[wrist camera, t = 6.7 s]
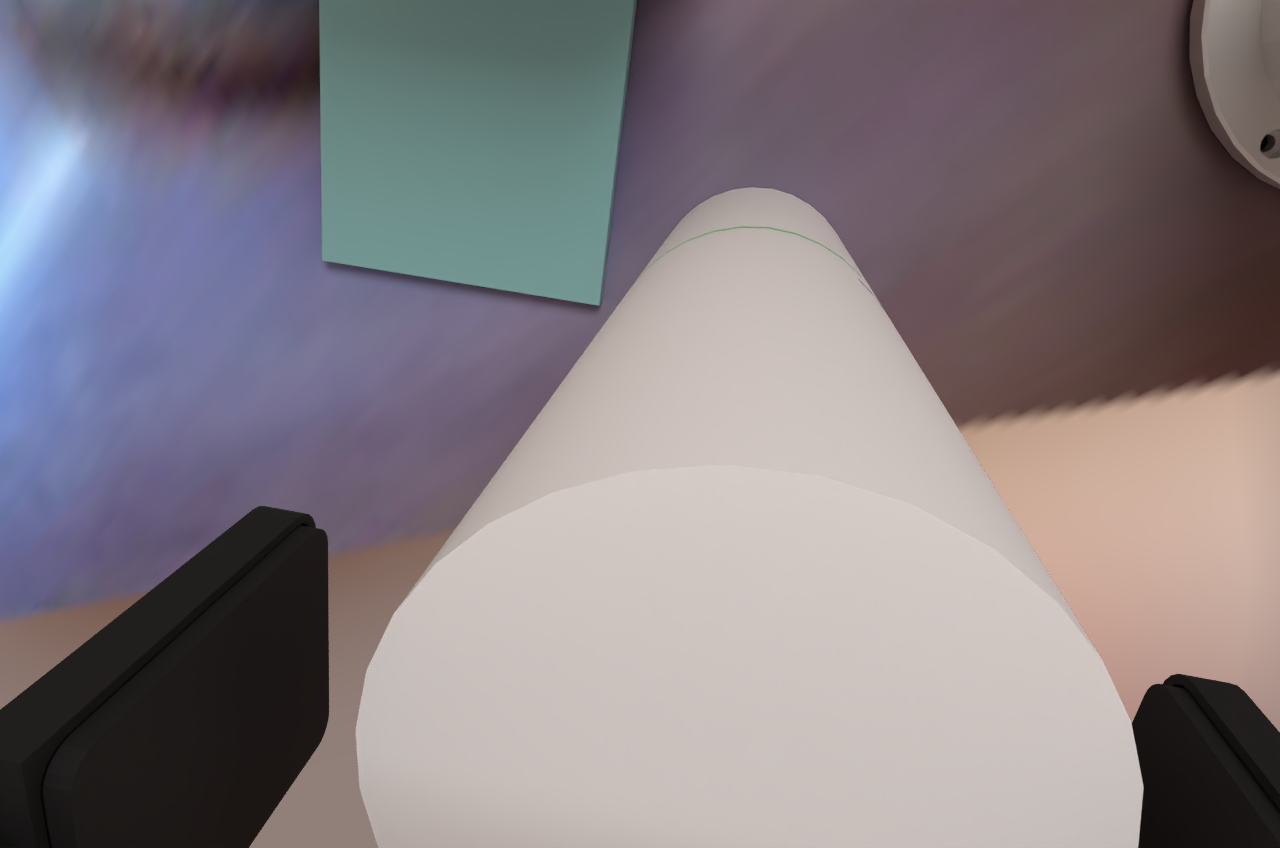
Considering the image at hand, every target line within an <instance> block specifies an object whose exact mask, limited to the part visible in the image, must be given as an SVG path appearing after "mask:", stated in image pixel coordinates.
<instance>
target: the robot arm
mask: <svg viewBox="0 0 1280 848" xmlns="http://www.w3.org/2000/svg"><path fill="white" fill-rule="evenodd" d="M1189 59H1190V65H1191V70H1192V75H1193V80H1194V86H1195V91H1196V96H1197V98H1198V101H1199V103H1200V105H1201V108H1202V110H1203V112H1204V114H1205V117H1206V119H1207V121H1208V124H1209V126H1210V128H1211V130H1212V131H1213V133H1214V134H1215V135H1216V137H1217V138H1218V139H1219V141H1220V142H1221V143H1222V145H1223V146H1224V147H1225V148H1226V150H1227V151H1228V152H1229V154H1230V155H1231V156H1232V158H1234V159H1235V160H1236V161H1237V162H1239V163H1240V164H1241V165H1242V166H1243V167H1245V168H1246V169H1247V170H1248V171H1250V172H1251V173H1252V174H1253V175H1254V176H1256V177H1257V178H1258V179H1259V180H1262V181H1264V182H1266V183H1268V184H1270V185H1272V186H1274V187H1276V188H1278V189H1280V0H1193V5H1192V10H1191V15H1190V47H1189ZM1265 136H1266V138H1267V145H1266V146H1265V147H1264V149H1262V150H1260V145H1261V141H1262V140H1263V138H1264V137H1265ZM328 644H329V642H328V540H327V535H326V532H325V531H324V530H322V529H317V528H316V526H315V522H314V520H313V518H312V517H311V516H310V515H309V514H304V513H299V512H294V511H288V510H283V509H277V508H272V507H266V506H259V507H257V508H255V509H253V510H252V511H251V512H249V513H248V514H247V515H246V516H244V517H243V518H242V519H241V520H239V521H238V522H237V523H236V524H234V525H233V526H232V527H230V528H229V529H228V530H227V531H225V532H224V533H223V534H222V535H220V536H219V537H218V538H217V539H215V540H214V541H213V542H212V543H210V544H209V545H208V546H207V547H205V548H204V549H203V550H201V551H200V552H199V553H198V554H196V555H195V556H194V557H193V558H191V559H190V560H189V561H188V562H186V563H185V564H184V565H183V566H181V567H180V568H179V569H177V570H176V571H175V572H174V573H172V574H171V575H170V576H169V577H167V578H166V579H165V580H164V581H162V582H161V583H160V584H159V585H157V586H156V587H155V588H154V589H152V590H151V591H150V592H148V593H147V594H146V595H145V596H143V597H142V598H141V599H140V600H138V601H137V602H136V603H135V604H133V605H132V606H131V607H130V608H128V609H127V610H126V611H124V612H123V613H122V614H121V615H119V616H118V617H117V618H116V619H114V620H113V621H112V622H111V623H109V624H108V625H107V626H106V627H104V628H103V629H102V630H100V631H99V632H98V633H97V634H95V635H94V636H93V637H92V638H91V639H89V640H88V641H87V642H85V643H84V644H83V645H82V646H80V647H79V648H78V649H77V650H75V651H74V652H73V653H71V654H70V655H69V656H68V657H66V658H65V659H64V660H63V661H61V662H60V663H59V664H58V665H56V666H55V667H54V668H53V669H51V670H50V671H49V672H47V673H46V674H45V675H44V676H42V677H41V678H40V679H39V680H38V681H36V682H35V683H34V684H32V685H31V686H30V687H29V688H27V689H26V690H25V691H23V692H22V693H21V694H20V695H18V696H17V697H16V698H15V699H13V700H12V701H11V702H10V703H8V704H7V705H6V706H5V707H3V708H2V709H1V710H0V848H249V846H250V845H251V843H252V842H253V840H254V839H255V837H256V836H257V835H258V833H259V832H260V830H261V829H262V827H263V826H264V824H265V823H266V821H267V820H268V819H269V817H270V816H271V814H272V813H273V811H274V810H275V808H276V807H277V805H278V804H279V802H280V801H281V800H282V798H283V797H284V795H285V794H286V792H287V791H288V789H289V788H290V786H291V785H292V784H293V782H294V781H295V779H296V778H297V776H298V775H299V773H300V772H301V770H302V769H303V768H304V766H305V765H306V763H307V762H308V760H309V759H310V757H311V756H312V754H313V753H314V751H315V750H316V748H317V747H318V745H319V744H320V742H321V740H322V738H323V735H324V733H325V730H326V726H327V722H328V717H329V654H328V653H329V649H328V646H329V645H328ZM1132 728H1133V734H1134V739H1135V744H1136V750H1137V755H1138V760H1139V765H1140V771H1141V776H1142V781H1143V787H1144V788H1143V799H1142V811H1141V822H1140V833H1139V844H1138V848H1280V732H1279V731H1278V730H1277V729H1276V728H1275V727H1274V725H1273V724H1272V723H1271V722H1270V721H1269V720H1268V718H1267V717H1266V716H1265V715H1264V714H1263V713H1262V711H1261V710H1260V709H1259V708H1258V707H1257V706H1256V704H1255V703H1254V702H1253V701H1252V700H1251V699H1250V697H1249V696H1248V695H1247V694H1246V693H1245V692H1244V691H1243V690H1242V689H1241V688H1240V687H1238V686H1237V685H1233V684H1230V683H1226V682H1220V681H1215V680H1209V679H1203V678H1198V677H1193V676H1187V675H1182V674H1175V675H1171V676H1170V677H1169V678H1168V679H1166V680H1165V681H1164V683H1163V684H1155V685H1152V686H1151V687H1150V688H1149V689H1148V690H1147V692H1146V694H1145V695H1144V698H1143V700H1142V702H1141V705H1140V707H1139V709H1138V711H1137V713H1136V716H1135V718H1134V720H1133V722H1132Z"/></svg>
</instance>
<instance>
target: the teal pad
mask: <svg viewBox="0 0 1280 848" xmlns="http://www.w3.org/2000/svg"><path fill="white" fill-rule="evenodd" d="M636 6H637V0H319V24H320V114H321V205H322V261H329V262H335V263H341V264H347V265H353V266H359V267H365V268H371V269H378V270H384V271H390V272H396V273H402V274H408V275H414V276H420V277H427V278H433V279H439V280H445V281H451V282H457V283H463V284H469V285H476V286H482V287H488V288H494V289H500V290H506V291H512V292H519V293H525V294H531V295H537V296H543V297H549V298H555V299H561V300H568V301H574V302H580V303H586V304H592V305H598V306H599V305H600V304H601V303H602V297H603V289H604V280H605V272H606V263H607V255H608V246H609V237H610V229H611V220H612V212H613V203H614V195H615V186H616V177H617V169H618V160H619V152H620V143H621V135H622V126H623V118H624V109H625V100H626V92H627V83H628V75H629V66H630V58H631V49H632V40H633V32H634V23H635V15H636Z"/></svg>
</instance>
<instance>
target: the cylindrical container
mask: <svg viewBox="0 0 1280 848" xmlns="http://www.w3.org/2000/svg"><path fill="white" fill-rule="evenodd" d="M355 731H356V745H357V757H358V758H357V759H358V773H359V786H360V792H361V795H362V798H363V802H364V804H365V808H366V811H367V814H368V817H369V821H370V824H371V827H372V830H373V833H374V836H375V840H376V843H377V846H378V847H379V848H1138V844H1139V833H1140V822H1141V811H1142V799H1143V788H1144V787H1143V781H1142V776H1141V771H1140V765H1139V760H1138V755H1137V750H1136V744H1135V739H1134V734H1133V728H1132V723H1131V720H1130V718H1129V716H1128V714H1127V712H1126V709H1125V707H1124V705H1123V703H1122V701H1121V699H1120V696H1119V694H1118V692H1117V690H1116V688H1115V686H1114V684H1113V682H1112V679H1111V677H1110V675H1109V673H1108V671H1107V669H1106V667H1105V664H1104V662H1103V660H1102V659H1101V657H1100V655H1099V654H1098V652H1097V651H1096V649H1095V647H1094V646H1093V644H1092V643H1091V641H1090V639H1089V638H1088V636H1087V635H1086V633H1085V631H1084V630H1083V628H1082V627H1081V625H1080V623H1079V622H1078V620H1077V618H1076V617H1075V615H1074V614H1073V612H1072V611H1071V609H1070V608H1069V606H1068V604H1067V602H1066V601H1065V599H1064V598H1063V596H1062V594H1061V593H1060V591H1059V590H1058V588H1057V586H1056V585H1055V583H1054V582H1053V580H1052V579H1051V577H1050V576H1049V574H1048V572H1047V570H1046V569H1045V567H1044V566H1043V564H1042V562H1041V561H1040V559H1039V558H1038V556H1037V555H1036V553H1035V551H1034V550H1033V548H1032V546H1031V545H1030V543H1029V542H1028V540H1027V538H1026V537H1025V535H1024V534H1023V532H1022V530H1021V529H1020V527H1019V526H1018V524H1017V522H1016V521H1015V519H1014V517H1013V516H1012V514H1011V513H1010V511H1009V509H1008V508H1007V507H1006V505H1005V503H1004V501H1003V500H1002V498H1001V497H1000V495H999V494H998V492H997V490H996V489H995V487H994V485H993V484H992V482H991V481H990V479H989V477H988V476H987V474H986V473H985V471H984V469H983V468H982V466H981V465H980V463H979V461H978V460H977V458H976V457H975V455H974V454H973V452H972V450H971V449H970V447H969V445H968V444H967V442H966V441H965V439H964V437H963V436H962V434H961V433H960V431H959V429H958V428H957V426H956V425H955V423H954V421H953V420H952V418H951V417H950V415H949V413H948V412H947V410H946V408H945V407H944V405H943V404H942V402H941V400H940V399H939V397H938V396H937V394H936V392H935V391H934V389H933V388H932V386H931V384H930V383H929V381H928V380H927V378H926V376H925V375H924V373H923V372H922V370H921V368H920V367H919V365H918V364H917V362H916V360H915V359H914V357H913V356H912V354H911V352H910V351H909V349H908V348H907V346H906V344H905V343H904V341H903V340H902V338H901V336H900V335H899V333H898V332H897V330H896V328H895V327H894V325H893V324H892V322H891V320H890V319H889V317H888V316H887V314H886V312H885V311H884V309H883V308H882V306H881V304H880V303H879V301H878V299H877V298H876V296H875V295H874V293H873V291H872V290H871V288H870V287H869V285H868V283H867V282H866V280H865V279H864V277H863V275H862V274H861V272H860V271H859V269H858V267H857V266H856V264H855V263H854V261H853V259H852V258H851V256H850V255H849V253H848V251H847V250H846V248H845V247H844V245H843V243H842V242H841V240H840V239H839V237H838V235H837V234H836V232H835V231H834V229H833V228H832V227H831V226H830V224H829V223H828V222H827V220H826V219H825V218H824V217H823V216H822V215H821V214H820V213H819V212H818V211H816V210H815V209H814V208H813V207H812V206H811V205H809V204H808V203H806V202H804V201H802V200H800V199H799V198H797V197H795V196H793V195H791V194H788V193H784V192H781V191H778V190H774V189H767V188H755V187H750V188H742V189H735V190H730V191H727V192H724V193H721V194H718V195H715V196H713V197H711V198H709V199H708V200H706V201H704V202H702V203H701V204H699V205H697V206H696V207H695V208H694V209H692V210H691V211H690V212H689V213H688V214H687V215H685V216H684V217H683V218H682V220H681V221H680V222H679V223H678V225H677V226H676V227H675V228H674V230H673V231H672V232H671V233H670V235H669V236H668V238H667V239H666V240H665V242H664V243H663V244H662V246H661V247H660V248H659V250H658V251H657V253H656V254H655V255H654V257H653V258H652V259H651V261H650V262H649V264H648V265H647V266H646V268H645V269H644V270H643V272H642V273H641V274H640V276H639V277H638V279H637V280H636V281H635V283H634V284H633V285H632V287H631V288H630V290H629V291H628V292H627V294H626V295H625V296H624V298H623V299H622V301H621V302H620V303H619V305H618V306H617V307H616V309H615V310H614V312H613V313H612V314H611V316H610V317H609V318H608V320H607V321H606V323H605V324H604V325H603V327H602V328H601V329H600V331H599V332H598V334H597V335H596V336H595V338H594V339H593V340H592V342H591V343H590V345H589V346H588V347H587V349H586V350H585V351H584V353H583V354H582V356H581V357H580V358H579V360H578V361H577V362H576V364H575V365H574V367H573V368H572V369H571V371H570V372H569V373H568V375H567V376H566V378H565V379H564V380H563V382H562V383H561V384H560V386H559V387H558V389H557V390H556V391H555V393H554V394H553V395H552V397H551V398H550V400H549V401H548V402H547V404H546V405H545V406H544V408H543V409H542V411H541V412H540V413H539V415H538V416H537V417H536V419H535V420H534V422H533V423H532V424H531V426H530V427H529V428H528V430H527V431H526V433H525V434H524V435H523V437H522V438H521V439H520V441H519V442H518V444H517V445H516V446H515V448H514V449H513V450H512V452H511V453H510V455H509V456H508V457H507V459H506V460H505V461H504V463H503V464H502V466H501V467H500V468H499V470H498V471H497V472H496V474H495V475H494V477H493V478H492V479H491V481H490V482H489V483H488V485H487V486H486V488H485V489H484V490H483V492H482V493H481V494H480V496H479V497H478V499H477V500H476V501H475V503H474V504H473V505H472V507H471V508H470V510H469V511H468V512H467V514H466V515H465V516H464V518H463V519H462V521H461V522H460V523H459V525H458V526H457V527H456V529H455V530H454V532H453V533H452V534H451V536H450V537H449V538H448V540H447V541H446V543H445V544H444V545H443V547H442V548H441V549H440V551H439V552H438V554H437V555H436V556H435V558H434V559H433V560H432V562H431V563H430V565H429V566H428V567H427V569H426V570H425V572H424V573H423V574H422V576H421V577H420V578H419V580H418V581H417V582H416V584H415V585H414V587H413V588H412V589H411V591H410V592H409V593H408V595H407V596H406V598H405V599H404V600H403V602H402V603H401V604H400V606H399V607H398V609H397V610H396V611H395V613H394V615H393V616H392V618H391V621H390V623H389V625H388V627H387V629H386V631H385V633H384V635H383V637H382V639H381V641H380V644H379V646H378V648H377V650H376V652H375V654H374V656H373V658H372V660H371V662H370V664H369V666H368V669H367V671H366V676H365V682H364V687H363V692H362V698H361V703H360V708H359V714H358V719H357V725H356V730H355Z"/></svg>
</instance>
